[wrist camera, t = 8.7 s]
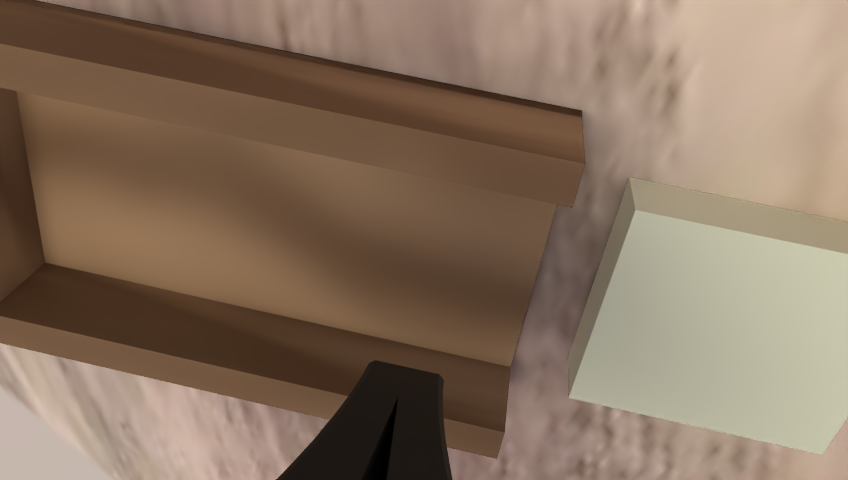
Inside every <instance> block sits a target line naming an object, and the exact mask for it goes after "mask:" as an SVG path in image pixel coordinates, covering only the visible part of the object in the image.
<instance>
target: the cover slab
mask: <svg viewBox="0 0 848 480" xmlns="http://www.w3.org/2000/svg"><path fill="white" fill-rule="evenodd" d="M568 397H569V398H571V399H575V400H580V401H584V402H589V403H593V404H598V405H602V406H607V407H611V408H615V409H620V410H624V411H629V412H633V413H638V414H642V415H647V416H651V417H655V418H660V419H664V420H669V421H673V422H678V423H682V424H687V425H691V426H696V427H700V428H704V429H709V430H713V431H718V432H722V433H727V434H731V435H736V436H740V437H744V438H749V439H753V440H758V441H762V442H767V443H771V444H776V445H780V446H784V447H789V448H793V449H798V450H802V451H807V452H811V453H816V454H820V455H823V453H824V451H825V450H826V448H827V447H828V445H829V444H830V442H831V441H832V439H833V438H834V436H835V435H836V433H837V432H838V430H839V429H840V427H841V426H842V424H843V423H844V421H845V420H846V418H847V417H848V222H845V221H840V220H836V219H831V218H826V217H821V216H816V215H811V214H806V213H802V212H797V211H792V210H787V209H782V208H777V207H772V206H767V205H763V204H758V203H753V202H748V201H743V200H738V199H733V198H729V197H724V196H719V195H714V194H709V193H704V192H699V191H694V190H690V189H685V188H680V187H675V186H670V185H665V184H660V183H656V182H651V181H646V180H641V179H636V178H631V177H629V180H628V183H627V186H626V188H625V191H624V194H623V197H622V200H621V203H620V206H619V209H618V212H617V215H616V218H615V221H614V224H613V227H612V230H611V232H610V235H609V238H608V241H607V244H606V247H605V250H604V253H603V256H602V259H601V262H600V265H599V268H598V271H597V274H596V276H595V279H594V282H593V285H592V288H591V291H590V294H589V297H588V300H587V303H586V306H585V309H584V312H583V315H582V318H581V320H580V323H579V326H578V329H577V332H576V335H575V338H574V341H573V344H572V347H571V350H570V353H569V356H568Z"/></svg>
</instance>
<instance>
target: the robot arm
mask: <svg viewBox="0 0 848 480" xmlns="http://www.w3.org/2000/svg"><path fill="white" fill-rule="evenodd" d="M443 385H444V379H443V378H442V377H441V376H440V374H436V373H432V372H427V371H423V370H418V369H414V368H409V367H405V366H400V365H396V364H391V363H387V362H382V361H378V360H374V361H372V362H370V363H369V364H368V366H367V367H366V369H365V371H364V373H363V375H362V376H361V378H360V379H359V381H358V383H357V384H356V386H355V387H354V389H353V390H352V392H351V393H350V394H349V396H348V397H347V399H346V400H345V401H344V403H343V404H342V405H341V407H340V408H339V409H338V411H337V412H336V413H335V414H334V416H333V417H332V418H331V419H330V421H329V422H328V423H327V424H326V425H325V427H324V428H323V429H322V430H321V432H320V433H319V434H318V435H317V436H316V438H315V439H314V440H313V441H312V442H311V443H310V445H309V446H308V447H307V448H306V449H305V450H304V451H303V452H302V453H301V454H300V455H299V456H298V457H297V459H296V460H295V461H294V462H293V463H292V464H291V465H290V466H289V467H288V468H287V469H286V470H285V471H284V472H283V473H282V474H281V475H280V476H279V477H278V478H277V479H276V480H452V475H451V469H450V464H449V458H448V452H447V446H446V438H445V429H444V418H443Z"/></svg>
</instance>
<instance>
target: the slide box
mask: <svg viewBox="0 0 848 480" xmlns="http://www.w3.org/2000/svg"><path fill="white" fill-rule="evenodd" d="M584 167H585V151H584V137H583V123H582V111H580V110H575V109H570V108H565V107H560V106H555V105H550V104H545V103H540V102H535V101H530V100H525V99H520V98H515V97H510V96H505V95H500V94H495V93H490V92H485V91H480V90H475V89H470V88H466V87H461V86H456V85H451V84H446V83H441V82H436V81H431V80H426V79H421V78H416V77H411V76H406V75H401V74H396V73H391V72H386V71H381V70H376V69H371V68H366V67H361V66H356V65H351V64H346V63H342V62H337V61H332V60H327V59H322V58H317V57H312V56H307V55H302V54H297V53H292V52H287V51H282V50H277V49H272V48H267V47H262V46H257V45H252V44H247V43H242V42H237V41H232V40H227V39H222V38H218V37H213V36H208V35H203V34H198V33H193V32H188V31H183V30H178V29H173V28H168V27H163V26H158V25H153V24H148V23H143V22H138V21H133V20H128V19H123V18H118V17H113V16H108V15H103V14H99V13H94V12H89V11H84V10H79V9H74V8H69V7H64V6H59V5H54V4H49V3H44V2H39V1H34V0H0V343H3V344H7V345H11V346H16V347H20V348H24V349H28V350H33V351H37V352H41V353H46V354H50V355H54V356H58V357H63V358H67V359H71V360H76V361H80V362H84V363H88V364H93V365H97V366H101V367H106V368H110V369H114V370H119V371H123V372H127V373H131V374H136V375H140V376H144V377H149V378H153V379H157V380H161V381H166V382H170V383H174V384H179V385H183V386H187V387H191V388H196V389H200V390H204V391H209V392H213V393H217V394H221V395H226V396H230V397H234V398H239V399H243V400H247V401H252V402H256V403H260V404H264V405H269V406H273V407H277V408H282V409H286V410H290V411H294V412H299V413H303V414H307V415H312V416H316V417H320V418H324V419H329V420H330V419H331V418H332V417H333V416H334V414H335V413H336V412H337V411H338V409H339V408H340V407H341V405H342V404H343V403H344V401H345V400H346V399H347V397H348V396H349V394H350V393H351V392H352V390H353V389H354V387H355V386H356V384H357V383H358V381H359V379H360V378H361V376H362V375H363V373H364V371H365V369H366V367H367V366H368V364H369V363H370V362H372V361H374V360H378V361H382V362H387V363H391V364H396V365H400V366H405V367H409V368H414V369H418V370H423V371H427V372H432V373H436V374H440V376H441V377H442V378H443V379H444V385H443V418H444V429H445V438H446V446H447V447H449V448H453V449H457V450H462V451H466V452H470V453H475V454H479V455H483V456H487V457H492V458H496V459H497V456H498V453H499V449H500V446H501V443H502V439H503V436H504V433H505V422H506V411H507V400H508V389H509V378H510V367H511V364H512V360H513V357H514V353H515V350H516V346H517V343H518V339H519V336H520V332H521V329H522V325H523V322H524V318H525V315H526V311H527V308H528V304H529V301H530V297H531V294H532V290H533V287H534V283H535V280H536V277H537V273H538V270H539V266H540V263H541V259H542V256H543V252H544V249H545V245H546V242H547V238H548V235H549V231H550V228H551V224H552V221H553V217H554V214H555V210H556V207H557V205H562V206H566V207H571V208H572V207H573V204H574V200H575V197H576V194H577V190H578V187H579V184H580V180H581V177H582V174H583V170H584Z"/></svg>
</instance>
